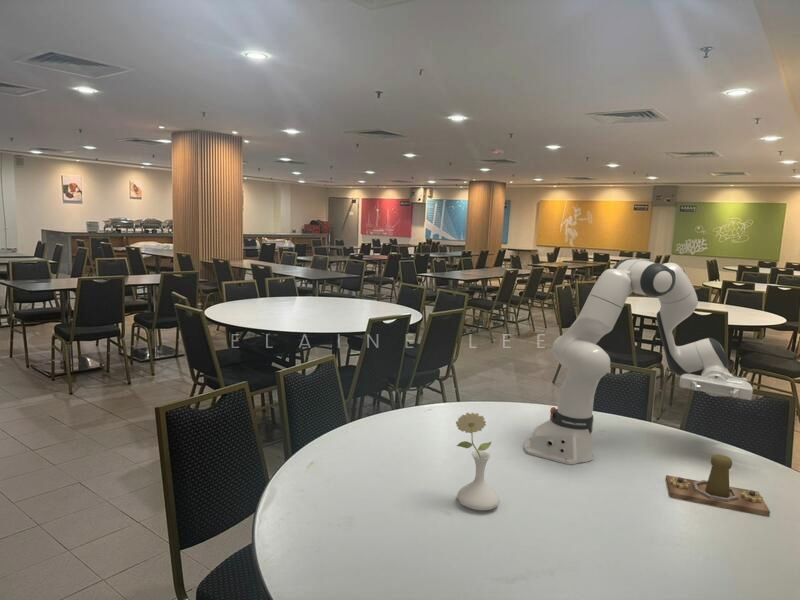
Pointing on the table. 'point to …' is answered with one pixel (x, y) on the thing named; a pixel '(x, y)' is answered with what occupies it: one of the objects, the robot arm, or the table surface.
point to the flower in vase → (477, 491)
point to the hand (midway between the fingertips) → (714, 391)
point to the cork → (719, 476)
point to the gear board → (696, 493)
